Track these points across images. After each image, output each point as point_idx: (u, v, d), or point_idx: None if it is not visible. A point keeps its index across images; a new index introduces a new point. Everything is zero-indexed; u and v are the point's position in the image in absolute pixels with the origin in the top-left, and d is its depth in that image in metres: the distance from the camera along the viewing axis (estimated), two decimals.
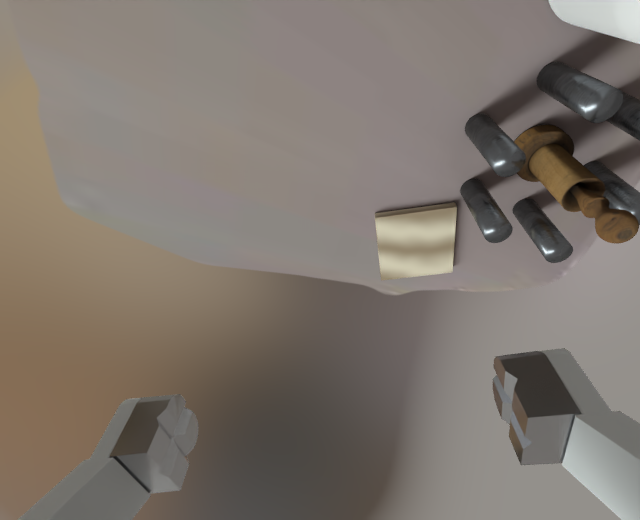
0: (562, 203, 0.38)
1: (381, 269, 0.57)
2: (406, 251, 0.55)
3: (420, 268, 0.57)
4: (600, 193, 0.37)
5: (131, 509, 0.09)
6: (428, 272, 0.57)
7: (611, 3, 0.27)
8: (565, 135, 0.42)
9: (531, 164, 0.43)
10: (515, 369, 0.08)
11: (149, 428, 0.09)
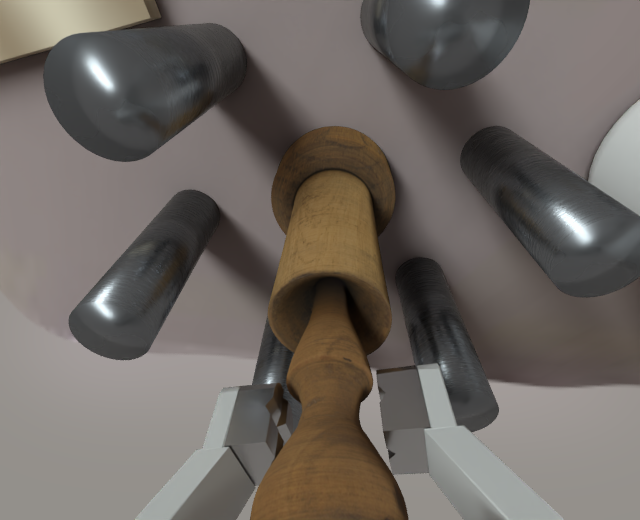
0: (294, 279, 0.11)
1: None
2: None
3: None
4: None
5: (240, 503, 0.08)
6: None
7: None
8: (385, 224, 0.19)
9: (326, 176, 0.17)
10: (387, 383, 0.08)
11: (260, 417, 0.08)
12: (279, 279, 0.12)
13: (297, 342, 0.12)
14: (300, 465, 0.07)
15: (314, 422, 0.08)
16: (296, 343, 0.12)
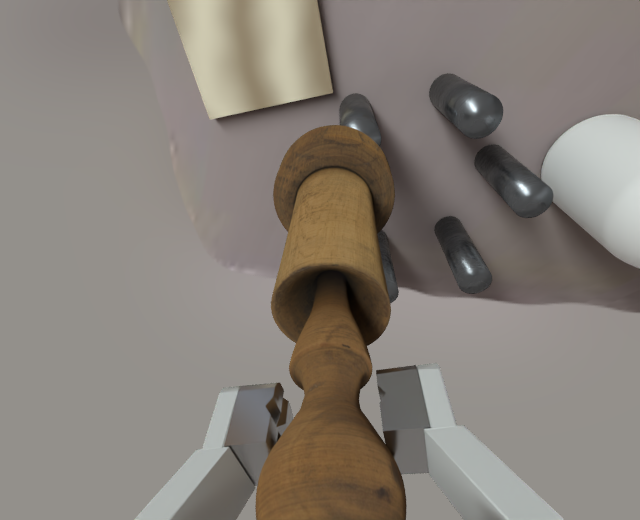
0: (295, 273, 0.11)
1: None
2: (238, 22, 0.31)
3: (206, 59, 0.32)
4: None
5: (240, 503, 0.08)
6: (200, 77, 0.33)
7: None
8: (386, 219, 0.20)
9: (325, 174, 0.17)
10: (387, 383, 0.08)
11: (260, 417, 0.08)
12: (281, 273, 0.12)
13: (301, 334, 0.13)
14: (300, 442, 0.07)
15: (315, 404, 0.08)
16: (300, 335, 0.13)
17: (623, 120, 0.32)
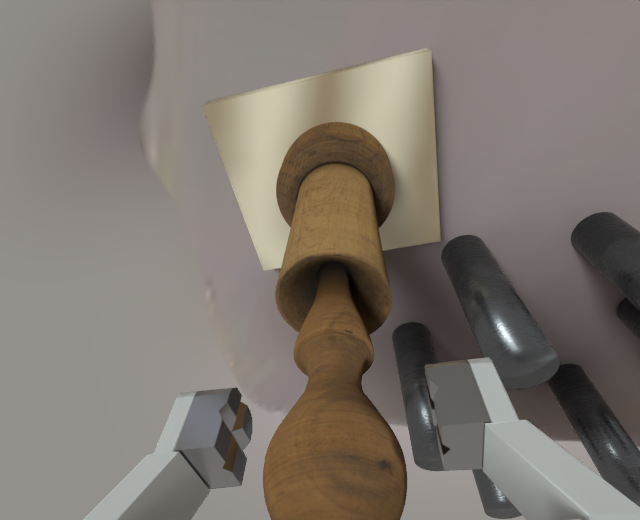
0: (298, 263, 0.12)
1: (243, 99, 0.19)
2: None
3: (264, 203, 0.23)
4: None
5: (192, 506, 0.09)
6: (254, 223, 0.23)
7: None
8: (387, 214, 0.20)
9: (327, 169, 0.18)
10: (439, 378, 0.08)
11: (212, 422, 0.08)
12: (285, 264, 0.12)
13: None
14: (306, 418, 0.07)
15: (319, 385, 0.09)
16: (303, 325, 0.13)
17: None
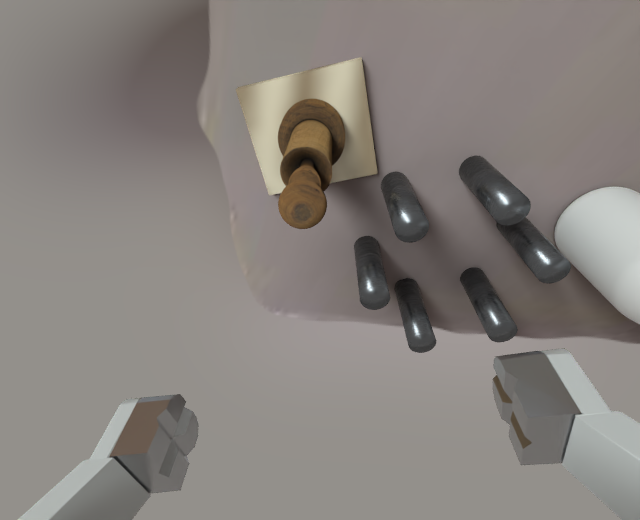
0: (290, 152, 0.27)
1: (259, 85, 0.34)
2: None
3: (270, 149, 0.38)
4: None
5: (131, 510, 0.09)
6: (264, 162, 0.38)
7: None
8: (341, 151, 0.35)
9: (306, 122, 0.33)
10: (515, 369, 0.08)
11: (149, 428, 0.09)
12: (284, 155, 0.27)
13: None
14: (292, 182, 0.22)
15: None
16: None
17: (625, 196, 0.37)
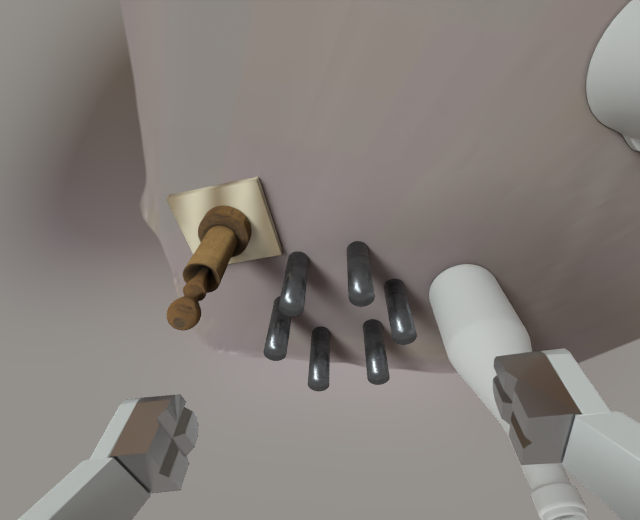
0: (188, 266, 0.38)
1: (183, 196, 0.46)
2: None
3: (197, 237, 0.49)
4: (207, 290, 0.40)
5: (131, 510, 0.09)
6: (193, 246, 0.50)
7: (475, 320, 0.42)
8: (246, 244, 0.47)
9: (214, 228, 0.44)
10: (515, 369, 0.08)
11: (149, 428, 0.09)
12: None
13: None
14: (176, 300, 0.34)
15: (184, 296, 0.35)
16: None
17: (469, 275, 0.48)
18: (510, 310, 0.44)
